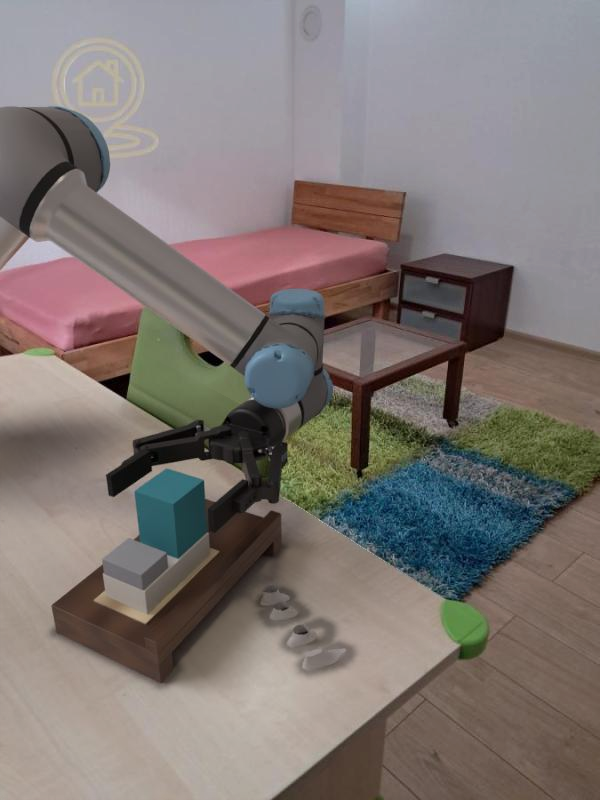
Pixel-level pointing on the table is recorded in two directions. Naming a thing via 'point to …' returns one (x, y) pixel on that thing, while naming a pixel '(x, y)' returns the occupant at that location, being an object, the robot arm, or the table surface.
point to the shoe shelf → (165, 599)
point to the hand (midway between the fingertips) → (158, 503)
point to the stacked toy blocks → (160, 542)
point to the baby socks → (298, 630)
